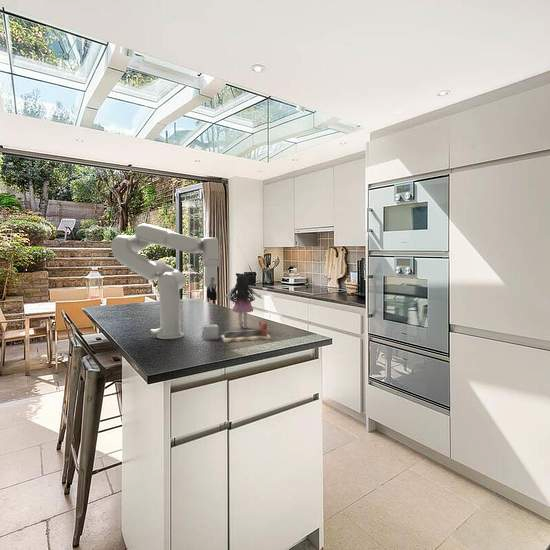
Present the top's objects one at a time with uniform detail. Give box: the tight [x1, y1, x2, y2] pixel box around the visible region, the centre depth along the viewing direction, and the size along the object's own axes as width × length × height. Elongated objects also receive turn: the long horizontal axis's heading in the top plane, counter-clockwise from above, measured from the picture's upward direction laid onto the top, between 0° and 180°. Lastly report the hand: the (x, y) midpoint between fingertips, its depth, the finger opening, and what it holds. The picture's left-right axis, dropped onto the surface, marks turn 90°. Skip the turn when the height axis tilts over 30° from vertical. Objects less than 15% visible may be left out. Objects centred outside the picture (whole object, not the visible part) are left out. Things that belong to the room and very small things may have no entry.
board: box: [220, 320, 272, 343], centre depth 175 cm, size 22×10×7 cm, turn 107°
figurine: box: [223, 272, 264, 329], centre depth 199 cm, size 22×10×30 cm, turn 84°
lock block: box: [201, 323, 219, 341], centre depth 176 cm, size 7×6×6 cm
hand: (211, 299), depth 176 cm, fingers open, 9 cm apart
